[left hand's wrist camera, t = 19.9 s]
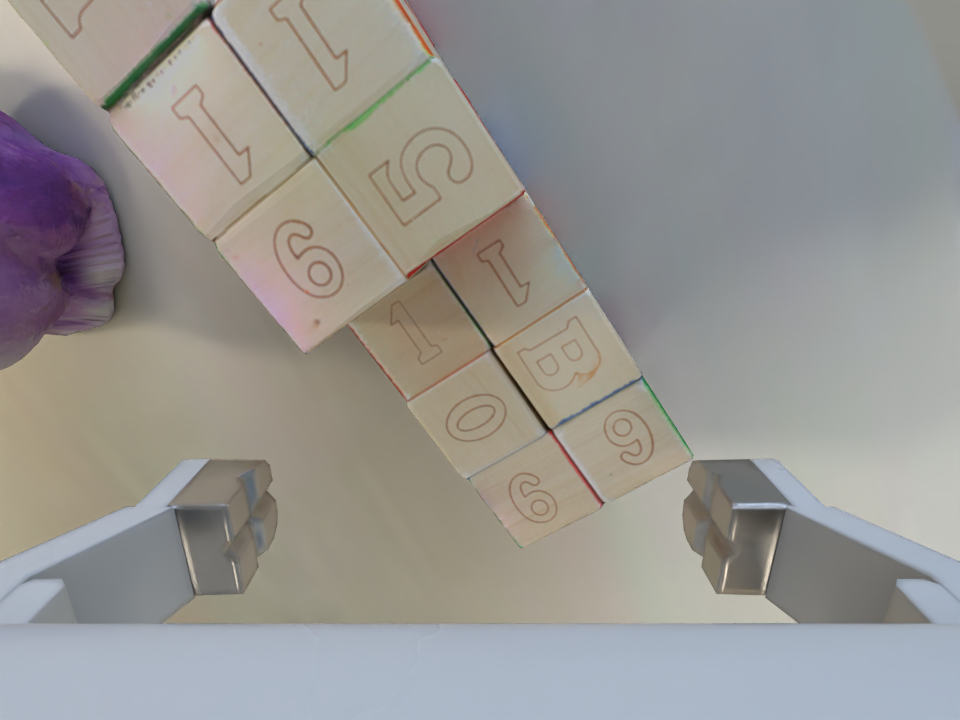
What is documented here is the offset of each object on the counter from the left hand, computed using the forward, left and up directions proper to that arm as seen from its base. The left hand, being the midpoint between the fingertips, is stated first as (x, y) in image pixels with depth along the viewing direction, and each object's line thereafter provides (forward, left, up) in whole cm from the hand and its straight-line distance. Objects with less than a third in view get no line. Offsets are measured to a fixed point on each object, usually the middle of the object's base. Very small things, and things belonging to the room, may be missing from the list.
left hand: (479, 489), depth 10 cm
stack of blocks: (-1, +5, -14) cm, 15 cm away
